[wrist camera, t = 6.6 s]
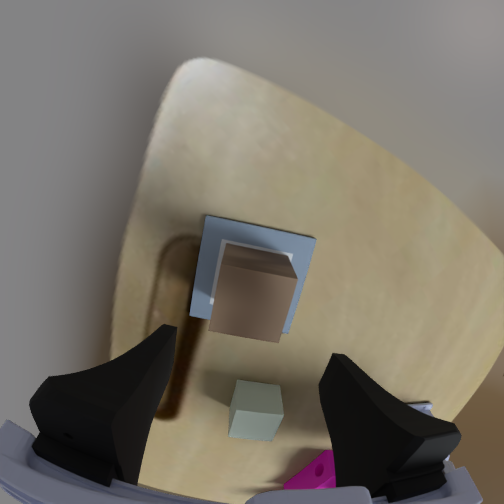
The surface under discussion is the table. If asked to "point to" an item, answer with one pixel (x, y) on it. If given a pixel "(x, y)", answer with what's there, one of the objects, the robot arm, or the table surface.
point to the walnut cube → (253, 293)
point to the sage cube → (255, 411)
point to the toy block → (315, 474)
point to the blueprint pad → (251, 237)
